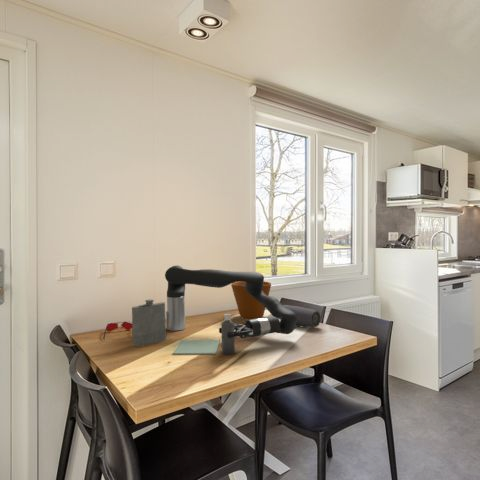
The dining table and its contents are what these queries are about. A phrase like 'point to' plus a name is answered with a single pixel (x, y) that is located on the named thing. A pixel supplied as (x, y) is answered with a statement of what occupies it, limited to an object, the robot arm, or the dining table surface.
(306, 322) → the bluetooth speaker
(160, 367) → the dining table surface
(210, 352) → the mat
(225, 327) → the grey bottle
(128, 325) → the glasses
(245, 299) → the flower pot
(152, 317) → the hip flask
